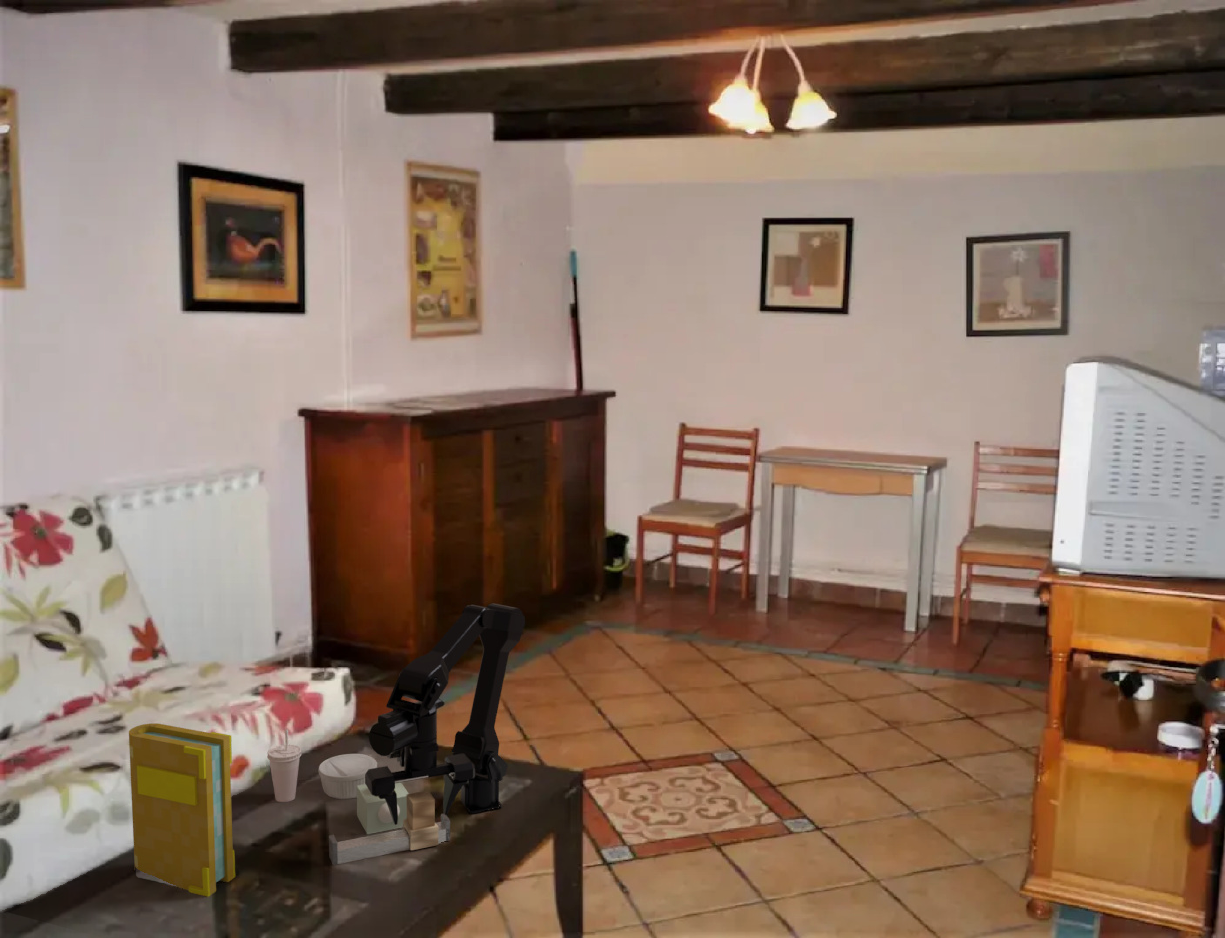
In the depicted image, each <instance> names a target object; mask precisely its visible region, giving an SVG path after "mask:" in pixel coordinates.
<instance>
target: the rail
mask: <svg viewBox="0 0 1225 938" xmlns="http://www.w3.org/2000/svg"><path fill="white" fill-rule="evenodd" d="M435 823H436V824H437V825H438V845H439V844H442V843H441V842H444V841H449V840H450V841H451V819H450V817H448V814H447V815H445V814H444V813H441V814H440V821H439V822H435ZM450 841H449V842H450ZM444 843H445V842H444ZM409 850H410V835H409V833H408V832H407V830H406V829H403V828H401V829H396V830H392V831H389V832H388V831H386V832H382V833H377V834H372V835H371V834H370V835H367V836H362V837H357V838H353V839H347V840H342V841H341V840H340V841H337V839H336V836H335V835H334V834H331V835H328V853H329V854H328V855H329V859H330V861H331V864H332V866H337V865H340V864H341V865H342V864H345V863H352V862H355V861H360V860H366V859H370V858H375V857H380V856H383V855H390V854H393V853H400V852H404V851H409ZM410 851H411V850H410Z"/></svg>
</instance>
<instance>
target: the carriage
mask: <svg viewBox="0 0 1225 938" xmlns="http://www.w3.org/2000/svg"><path fill="white" fill-rule="evenodd" d="M435 804H436V799H435V797H433V795H432V794H431V792H430V791H429V790H423V791H418V792H412V793H409V794H407V819H403V827H402V829H406V830H407V832H408V833H409V835H410V851H415V850H419V849H424V848H425V849H426V848H429V847H435V846H438V845H439V844H438V825H437V824H436V823H437V822H436V817H435V816H436V815H435V813H436V812H435V809H436V806H435Z"/></svg>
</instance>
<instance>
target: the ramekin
mask: <svg viewBox="0 0 1225 938" xmlns="http://www.w3.org/2000/svg"><path fill="white" fill-rule="evenodd" d="M373 768H378V762H377V760H376V759H375V758H374V757H372V756H369V755H367V754H362V753H346V754H345V753H344V754H339V755H335V756H331V757H329V758H328V759H327V758H326V759H325V760H324V761H322V762H321V763H320V764H319V766H318V776H320V781H321V785H322V789H323V792H324V793H325V794H326V795H327V796H328V797H330V798H332V799H333V798H334V799H338V800H350V799H351V800H352V799H354V798H356V799H357V786H358V785H364V784H365V774H366V772H367V771H368V769H373Z"/></svg>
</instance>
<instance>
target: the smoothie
mask: <svg viewBox="0 0 1225 938" xmlns="http://www.w3.org/2000/svg"><path fill="white" fill-rule="evenodd" d="M284 733H285V734H284V740H285V741H284V742H285V743H284V744H280V745H276V746H274V747H272V748H269V749H268V751H267V759H268V761H269V767H270V772H271V773H270V774H271V779H272V784H273V790H274V791H273V792H274V799H275V801H277V802H278V803H287V802H292V801H293V800H295V798H296V793H297V783H298V775H299V768H300V766H299V765H300V757H301V756H302V748H301V747H300V746H298V745H295V744H289V729H288V728H287V729H285V730H284Z"/></svg>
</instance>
